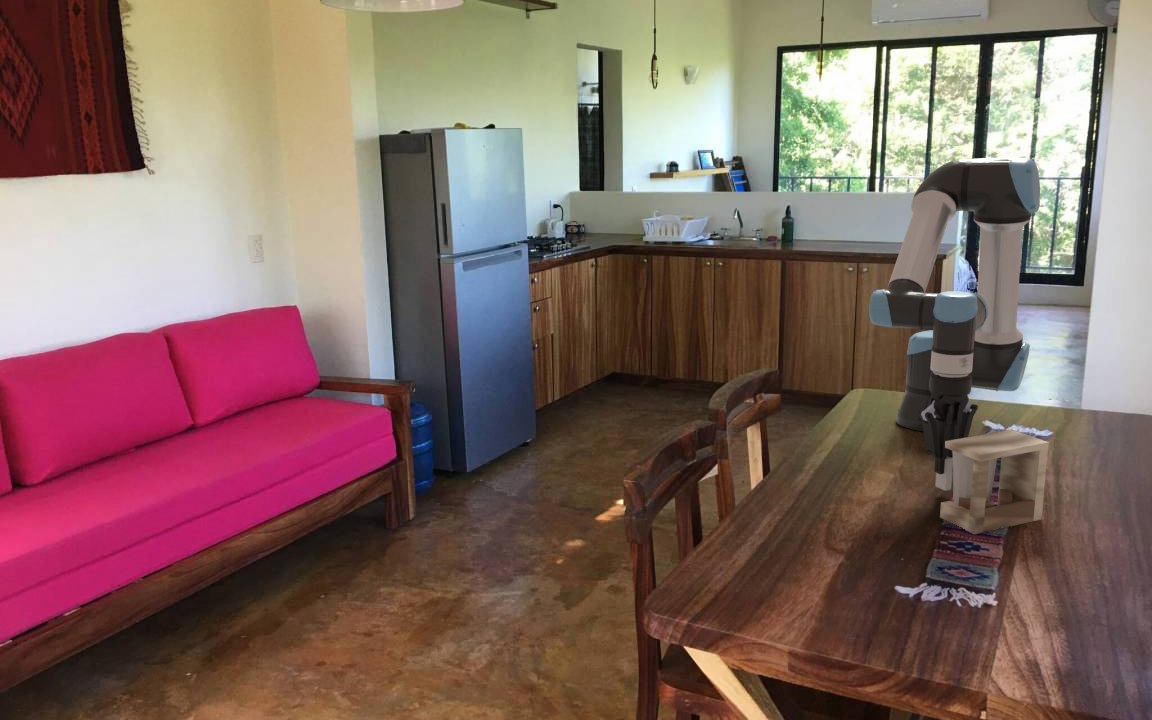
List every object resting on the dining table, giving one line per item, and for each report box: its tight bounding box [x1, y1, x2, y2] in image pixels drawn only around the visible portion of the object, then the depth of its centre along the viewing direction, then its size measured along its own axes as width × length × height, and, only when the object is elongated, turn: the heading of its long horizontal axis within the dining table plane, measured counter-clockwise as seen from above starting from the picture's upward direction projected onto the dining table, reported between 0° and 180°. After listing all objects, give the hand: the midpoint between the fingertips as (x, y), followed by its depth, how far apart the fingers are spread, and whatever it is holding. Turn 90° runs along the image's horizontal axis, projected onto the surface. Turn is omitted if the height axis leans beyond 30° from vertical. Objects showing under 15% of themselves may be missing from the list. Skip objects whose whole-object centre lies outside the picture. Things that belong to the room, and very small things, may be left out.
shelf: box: [939, 429, 1050, 535], centre depth 172 cm, size 8×16×15 cm, turn 112°
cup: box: [952, 450, 998, 504], centre depth 177 cm, size 8×8×12 cm
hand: (943, 487), depth 185 cm, fingers closed
